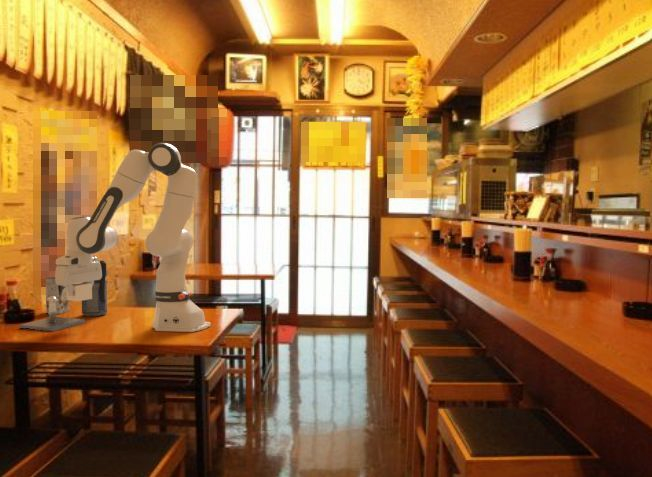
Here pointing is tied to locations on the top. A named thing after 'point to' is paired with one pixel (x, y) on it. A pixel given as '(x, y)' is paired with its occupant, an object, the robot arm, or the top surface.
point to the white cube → (81, 292)
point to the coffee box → (56, 295)
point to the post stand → (52, 320)
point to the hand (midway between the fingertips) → (80, 294)
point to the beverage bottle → (97, 296)
